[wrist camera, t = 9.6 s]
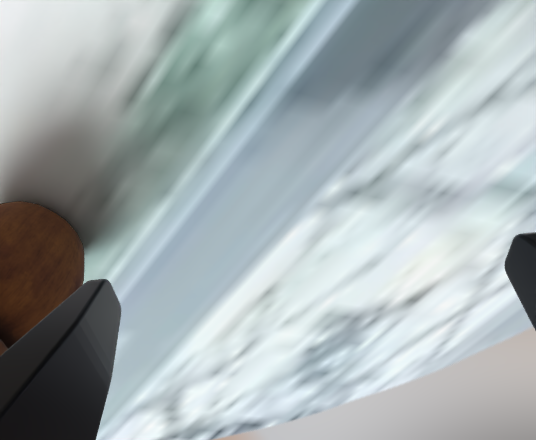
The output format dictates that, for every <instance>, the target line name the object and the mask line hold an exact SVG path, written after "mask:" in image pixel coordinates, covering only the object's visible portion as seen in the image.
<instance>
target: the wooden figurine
mask: <svg viewBox="0 0 536 440" xmlns="http://www.w3.org/2000/svg"><path fill="white" fill-rule="evenodd" d="M83 281H84V249H83V244H82V242H81V240H80V238H79V236H78V234H77V232H76V231H75V230H74V229H73V228H72V227H71V226H70V224H69V223H68V222H67V221H66V220H65V219H63V218H62V217H60V216H59V215H57V214H56V213H54V212H53V211H51V210H49V209H47V208H44V207H42V206H40V205H38V204H33V203H28V202H22V201H18V202H10V203H3V204H0V356H1V355H2V354H3V353H4V352H5V351H7V350H8V349H9V348H10V347H11V346H12V345H14V344H15V343H16V342H17V341H18V340H19V339H20V338H22V337H23V336H24V335H25V334H26V333H27V332H29V331H30V330H31V329H32V328H33V327H34V326H36V325H37V324H38V323H39V322H40V321H41V320H43V319H44V318H45V317H46V316H47V315H48V314H50V313H51V312H52V311H53V310H54V309H55V308H57V307H58V306H59V305H60V304H61V303H62V302H63V301H65V300H66V299H67V298H68V297H69V296H70V295H72V294H73V293H74V292H75V291H76V290H77V289H79V288H80V287H81V286H82V285H83Z"/></svg>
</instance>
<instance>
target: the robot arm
mask: <svg viewBox="0 0 536 440" xmlns="http://www.w3.org/2000/svg"><path fill="white" fill-rule="evenodd" d="M505 271H506V274H507V276H508V278H509V280H510V282H511V284H512V285H513V287H514V289H515V291H516V293H517V295H518V297H519V299H520V301H521V303H522V305H523V307H524V309H525V311H526V313H527V315H528V317H529V319H530V321H531V323H532V325H533V327H534V328H535V330H536V232H532V233H523V234H518V235H516V236H515V237H514V239H513V241H512V244H511V246H510V249H509V252H508V255H507V257H506V260H505ZM120 318H121V306H120V303H119V301H118V298H117V296H116V294H115V292H114V290H113V288H112V285H111V283H110V282H109V281H108V280H107V279H98V280H90V281H87V282H86V283H84V284H83V285H82V286H81V287H80V288H79V289H77V290H76V291H75V292H74V293H73V294H72V295H70V296H69V297H68V298H67V299H66V300H65V301H63V302H62V303H61V304H60V305H59V306H58V307H57V308H55V309H54V310H53V311H52V312H51V313H50V314H48V315H47V316H46V317H45V318H44V319H43V320H41V321H40V322H39V323H38V324H37V325H36V326H34V327H33V328H32V329H31V330H30V331H29V332H27V333H26V334H25V335H24V336H23V337H22V338H20V339H19V340H18V341H17V342H16V343H15V344H14V345H12V346H11V347H10V348H9V349H8V350H7V351H5V352H4V353H3V354H2V355H1V356H0V440H96V436H97V433H98V429H99V425H100V421H101V417H102V414H103V410H104V406H105V402H106V398H107V395H108V391H109V387H110V382H111V378H112V372H113V366H114V359H115V352H116V346H117V339H118V332H119V325H120Z"/></svg>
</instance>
